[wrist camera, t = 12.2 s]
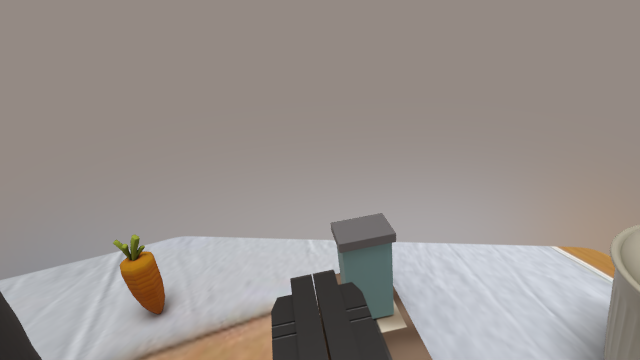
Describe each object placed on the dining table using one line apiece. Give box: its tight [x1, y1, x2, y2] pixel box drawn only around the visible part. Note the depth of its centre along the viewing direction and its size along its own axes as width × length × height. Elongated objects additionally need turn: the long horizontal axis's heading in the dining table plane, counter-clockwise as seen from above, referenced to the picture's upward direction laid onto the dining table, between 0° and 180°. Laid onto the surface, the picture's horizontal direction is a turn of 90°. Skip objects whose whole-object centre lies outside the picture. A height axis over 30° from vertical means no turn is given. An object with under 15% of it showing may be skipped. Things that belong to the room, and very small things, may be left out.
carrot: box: [114, 235, 165, 314], centre depth 49 cm, size 5×5×15 cm
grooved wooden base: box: [335, 273, 432, 360], centre depth 40 cm, size 28×10×3 cm, turn 9°
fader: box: [331, 213, 396, 319], centre depth 41 cm, size 5×7×13 cm
